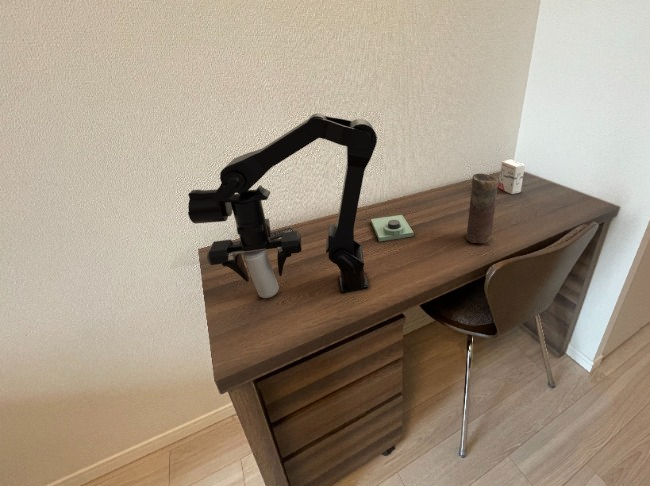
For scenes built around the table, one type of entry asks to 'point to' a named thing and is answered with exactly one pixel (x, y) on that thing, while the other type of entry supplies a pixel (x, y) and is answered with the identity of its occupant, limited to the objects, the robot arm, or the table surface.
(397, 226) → the button
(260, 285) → the beverage can
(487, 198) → the candle
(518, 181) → the ink box
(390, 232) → the pale green flat piece
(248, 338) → the table surface
